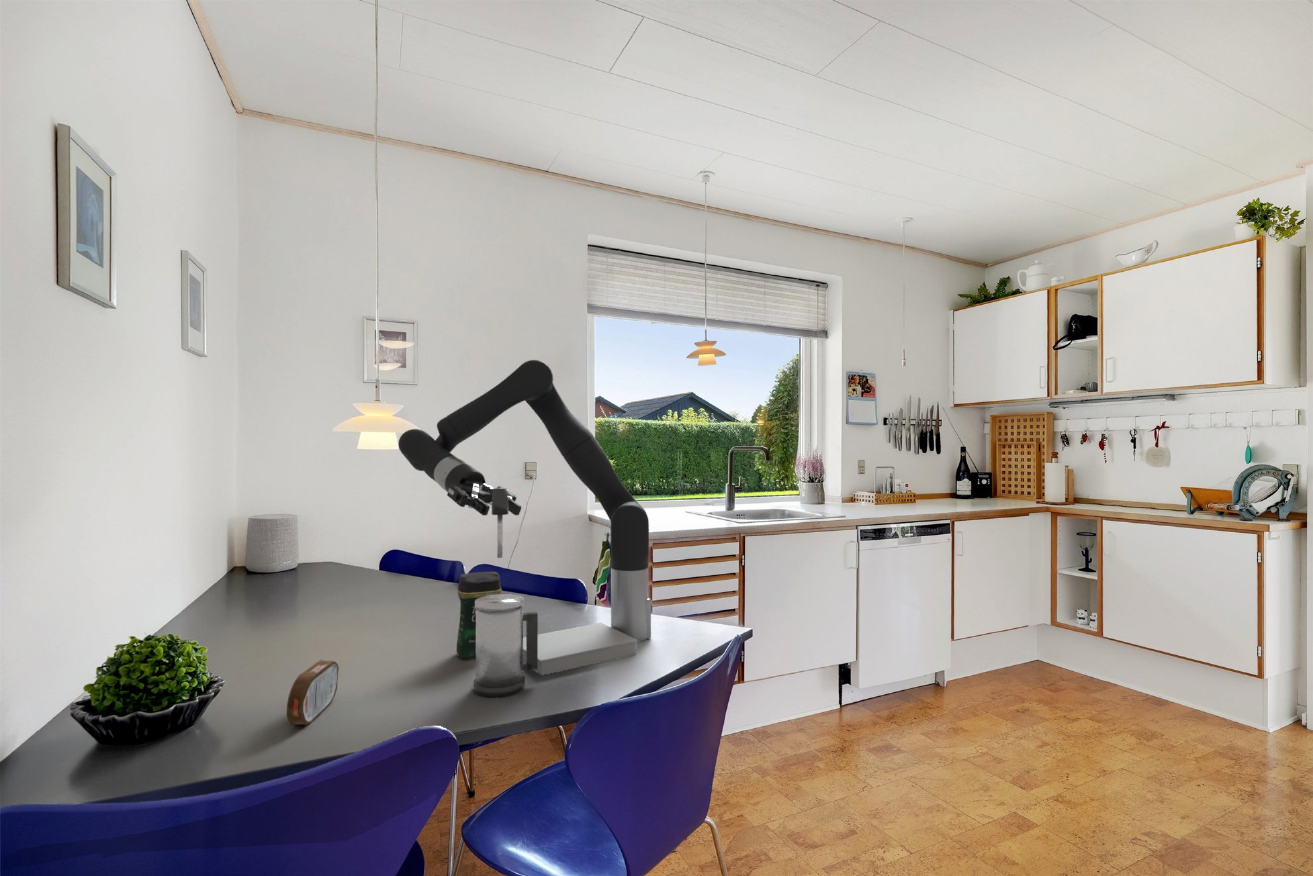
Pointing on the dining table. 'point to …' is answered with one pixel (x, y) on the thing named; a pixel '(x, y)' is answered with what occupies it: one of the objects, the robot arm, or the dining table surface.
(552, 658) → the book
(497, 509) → the plunger
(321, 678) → the tin
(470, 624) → the coffee jar
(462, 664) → the dining table surface
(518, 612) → the carafe
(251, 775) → the dining table surface
